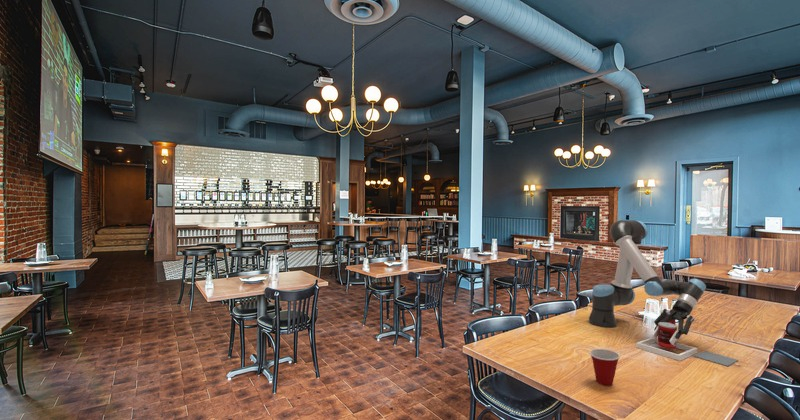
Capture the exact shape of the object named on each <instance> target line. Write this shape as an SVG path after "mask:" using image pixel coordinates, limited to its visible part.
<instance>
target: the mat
mask: <svg viewBox="0 0 800 420" xmlns="http://www.w3.org/2000/svg"><path fill="white" fill-rule="evenodd" d="M692 356H693V357H694V358H697V359H700V360H703V361H707V362H711V363H714V364H717V365H720V366H723V367H726V368H727V367H730V366H732V365H733V364H735V362H736V363H737V362H739V359H736V358H733V357H729V356H725V355H721V354H720V353H719V354H718V353H715V352H710V351H707V350H703V351H701V352H697V354H694V355H692Z"/></svg>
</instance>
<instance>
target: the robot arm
mask: <svg viewBox="0 0 800 420" xmlns="http://www.w3.org/2000/svg"><path fill="white" fill-rule="evenodd" d="M648 233H649V231H648V226H646V224H645V223H644V222H643V221H641V220H636V219H632V220H631V219H630V220H629V219H628V220H626V219H625V220H623V219H620V220H616V221H614V222H613V223H612V224H611V226H610V228H609V235H610V237H611V239H612V242H613V243H614V245H615V246H617V247H619V248H620V249H619V254H618V260H617V265H616V270H615V271H616V272H615V275H614V280H612V281H610V284H604V283H603V284H596V285H594V286H592V291H591V293H592V300H591V301H592V304H591V305H592V306H591V308H592V309H591V312H590V315H589V316H588V317H589V318H588V323H589V324H591V325H593V326H597V327H603V328H616V327H617V324H618V321H617V319H616V315H615V312H614V309H615V306H616V307H617V306H628V305H630V304H632V303H633V302H634V301H635V299H636V293H635V292H634V291H635V290H634V289H633V285H632V284H631V280H632V275H633V271H634V270H635V271H636V273H637V274H638V276H639V277H640V278H641V281H642V282H643V283H644V285H643V288H644V292H645V294H647V295H648V296H651V297H660V296H670V295H671V296H672V295H674V296H675V295H677V296H678V298H677V299H676V300H675V302H674V304H673V305H672V308H670V309H671V310H666V309H667V308H663V309H664V310H663V312H662V314H661V313H660V314H659V315H658V316H657V318H656V319H655V320H654V321H653V323H654V324H655V327H654V329H653V330H654V331H653V332H652V335H651V336H652V337H654V338H655V339H656V338H657V337H658V323H659V322H667V323H668V322H670V321H673V320H675V321H678V324H677V331H675V333H674V334H673V336H672V337H671V339H670V343H671V344H672V345H674V343H675V341H676V342H677V341H678V340H679V339H681V337H682V335H686V336H687V335H689V331H690V330H691V329H690V328H691V327H692V323H693V322H694V321H695V318H694V317H693V315H691V313H692V312H693V310H694V308H695V307H696V305H697V303H698V302H699V300H700V298H701V297H702V296H703V294H704V292H705V290H706V289H707V286H706V285H707V284H705V282H704V281H702V280H701V279H697V278H691V279H689V281H688V282H686V281H680V280H675V279H668V278H667V279H666V278H664V279H661V278H660V277H659V275H658V274H657V273H656V272H655V270H654V268H653V267H652V266H651V265H650V263H649V262H648V260H647V259H646V257H645V256H644V255H643V253H642V252H641V250H640V249H639V248H638V247H639V246H641V245H642V241H643V240H644V239H645V238H647V236H648ZM669 313H670V314H669ZM667 315H668V316H667ZM666 316H667V317H666ZM671 317H672V318H671ZM685 320H686V321H685Z"/></svg>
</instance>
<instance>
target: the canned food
mask: <svg viewBox="0 0 800 420" xmlns="http://www.w3.org/2000/svg"><path fill="white" fill-rule="evenodd" d="M675 331H678V325H676V324H675V325H674V324H671V323H667V322H659V323H658V336H657V337H658V343H657V345H658V346H659V347H660V348H663V349H669V350H675V349H677V348H676V343H677V340H676V341H675V343H674V345H672V344H671V343H670V339H671V337H672V336H673V334H674V333H675Z"/></svg>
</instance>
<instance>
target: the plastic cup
mask: <svg viewBox="0 0 800 420" xmlns="http://www.w3.org/2000/svg"><path fill="white" fill-rule="evenodd" d="M589 355H590V356H591V361H592V364H593V365H592V366H593V370H594V375H595V381H596V383H597V384H599V385H603V386H608V387H609V386H610V387H611V386H613V384H614V379H615V377H616V376H615V375H616V371H617V366H618V363H619V359H620V355H621V354H619V353H618V352H616V351H614V350H610V349H607V348H594V349H590V350H589Z"/></svg>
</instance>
